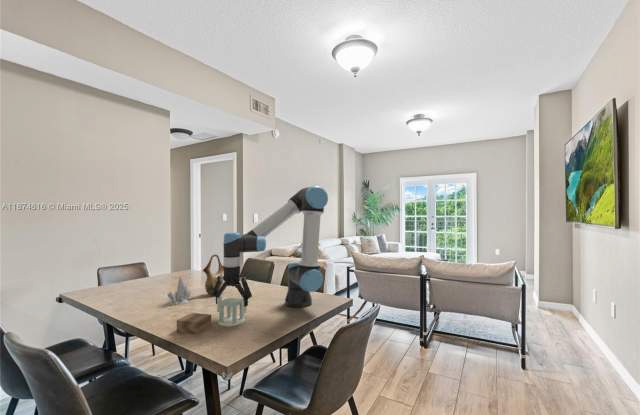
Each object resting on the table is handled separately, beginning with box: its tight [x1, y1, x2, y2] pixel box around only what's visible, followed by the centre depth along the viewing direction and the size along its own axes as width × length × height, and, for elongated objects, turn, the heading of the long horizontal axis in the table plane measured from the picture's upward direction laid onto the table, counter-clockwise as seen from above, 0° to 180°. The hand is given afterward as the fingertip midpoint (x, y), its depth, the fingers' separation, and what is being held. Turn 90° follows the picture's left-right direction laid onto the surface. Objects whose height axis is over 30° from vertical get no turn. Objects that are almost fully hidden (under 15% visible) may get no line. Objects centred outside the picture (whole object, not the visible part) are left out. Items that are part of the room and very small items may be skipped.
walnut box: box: [176, 312, 212, 335], centre depth 134 cm, size 10×10×5 cm
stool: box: [218, 297, 245, 324], centre depth 143 cm, size 8×8×9 cm
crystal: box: [167, 275, 191, 306], centre depth 173 cm, size 10×13×15 cm
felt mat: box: [217, 315, 246, 327], centre depth 143 cm, size 12×12×1 cm
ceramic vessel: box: [202, 253, 225, 297], centre depth 189 cm, size 16×9×25 cm, turn 147°
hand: (231, 312), depth 143 cm, fingers open, 12 cm apart
